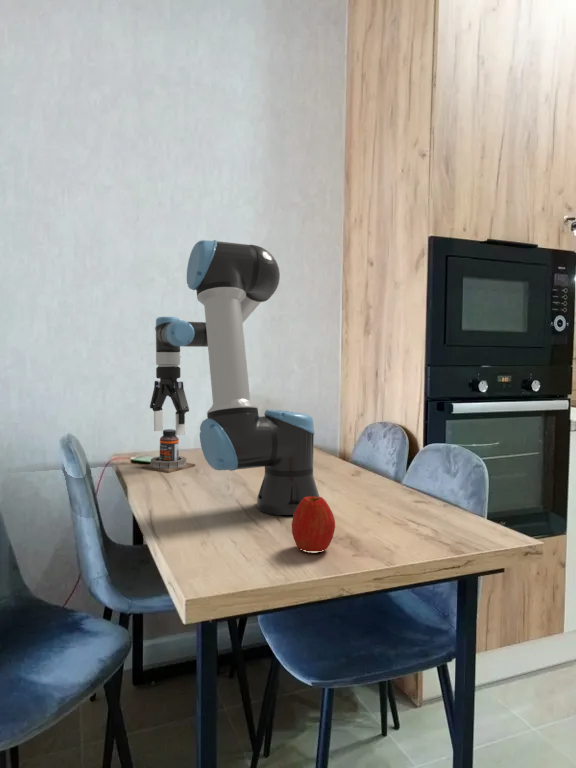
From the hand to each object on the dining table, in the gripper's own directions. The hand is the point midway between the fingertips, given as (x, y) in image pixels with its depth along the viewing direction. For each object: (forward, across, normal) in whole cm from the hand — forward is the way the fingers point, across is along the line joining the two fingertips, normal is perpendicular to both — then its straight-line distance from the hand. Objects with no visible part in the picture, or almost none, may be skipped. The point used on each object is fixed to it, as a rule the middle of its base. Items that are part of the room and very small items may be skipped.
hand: (169, 432), depth 173 cm
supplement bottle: (+11, +1, 0) cm, 11 cm away
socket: (+11, +1, 0) cm, 11 cm away
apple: (+13, -81, +16) cm, 84 cm away
